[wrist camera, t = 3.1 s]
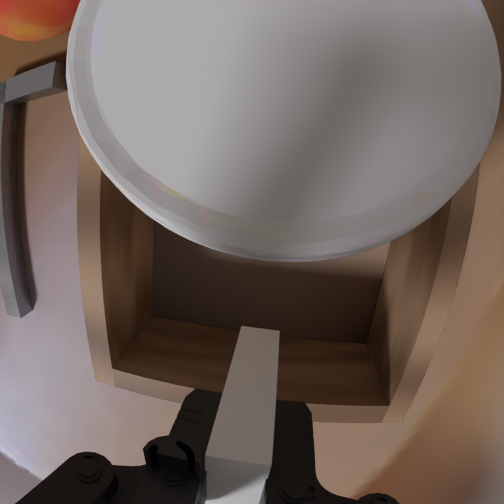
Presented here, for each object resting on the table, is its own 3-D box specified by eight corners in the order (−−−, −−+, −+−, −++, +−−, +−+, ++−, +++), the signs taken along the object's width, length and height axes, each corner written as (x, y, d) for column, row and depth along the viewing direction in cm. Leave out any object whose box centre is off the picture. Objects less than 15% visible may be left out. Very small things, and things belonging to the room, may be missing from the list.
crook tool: (9, 87, 16) (-7, 85, 15) (71, 66, 16) (55, 61, 14) (20, 305, 21) (7, 314, 19) (79, 319, 21) (66, 330, 19)
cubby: (152, 46, 15) (103, 7, 9) (426, 75, 14) (479, 46, 8) (138, 329, 20) (95, 380, 14) (377, 359, 19) (402, 421, 13)
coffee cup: (270, 10, 14) (247, -148, 2) (401, 111, 15) (555, 55, 3) (165, 130, 16) (-3, 98, 5) (296, 235, 17) (317, 369, 6)
